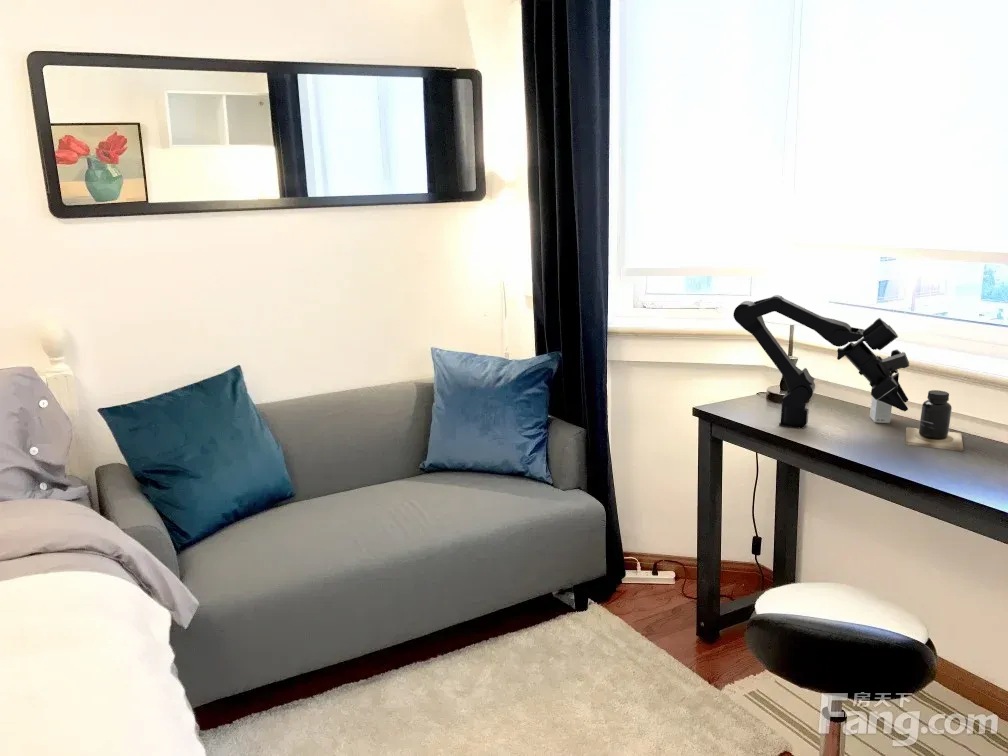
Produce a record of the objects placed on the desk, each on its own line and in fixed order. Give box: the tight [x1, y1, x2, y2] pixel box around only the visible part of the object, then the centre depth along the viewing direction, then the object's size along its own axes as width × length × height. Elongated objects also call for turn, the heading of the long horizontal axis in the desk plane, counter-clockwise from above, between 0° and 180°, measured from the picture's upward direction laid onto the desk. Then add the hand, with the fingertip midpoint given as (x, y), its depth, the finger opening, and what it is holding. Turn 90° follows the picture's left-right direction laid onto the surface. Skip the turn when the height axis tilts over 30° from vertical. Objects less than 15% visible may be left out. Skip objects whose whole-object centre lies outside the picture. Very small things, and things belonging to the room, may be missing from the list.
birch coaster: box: [905, 427, 964, 452], centre depth 210 cm, size 13×13×1 cm
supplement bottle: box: [918, 389, 953, 440], centre depth 208 cm, size 7×7×12 cm
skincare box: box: [869, 395, 893, 424], centre depth 226 cm, size 6×4×12 cm
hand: (906, 405), depth 211 cm, fingers open, 9 cm apart
